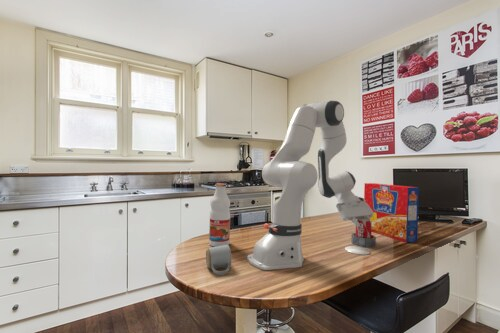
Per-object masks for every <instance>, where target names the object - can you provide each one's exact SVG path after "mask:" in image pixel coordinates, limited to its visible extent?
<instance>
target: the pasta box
mask: <svg viewBox="0 0 500 333" xmlns="http://www.w3.org/2000/svg"><path fill="white" fill-rule="evenodd" d="M363 188H364V190H363V191H364V192H363V193H364V194H363V198H364V199H365V203H367V204H368V205H369V206H370V208H371V209H372V211H373V212H374V215H373V216H372V217H371V218H370V221H371V223H372V233H375V234H377V235H380V236H383V237H385V238H390V239H393V240H396V241H399V242H401V243H402V242H403V243H405V242H406V243H405V244H408V243H407V242H410V243H416V241H417V242H418V232H419V230H418V229H419V228H418V227H419V200H420V199H419V198H420V196H419V195H420V187H416V186H409V185H408V186H407V185H397V184H386V183H385V184H384V183H376V182H375V183H373V182H372V183H371V182H367V183H366V182H365V183H364V187H363Z"/></svg>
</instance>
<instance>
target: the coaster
mask: <svg viewBox="0 0 500 333" xmlns="http://www.w3.org/2000/svg"><path fill="white" fill-rule="evenodd" d="M344 250H345V251H346V252H347V253H351V254H352V255H353V254H354V255H359V256H368V255H370V254H371V250H370V249H369V248H368V249H367V247H361V246H357V245H355V246H354V245H349V246H345V247H344Z"/></svg>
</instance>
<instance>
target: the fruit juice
mask: <svg viewBox="0 0 500 333" xmlns="http://www.w3.org/2000/svg"><path fill="white" fill-rule="evenodd" d="M226 188H227V183H221V182H220V183H215V191H214V194H213V196H212V198H211V199H210V212H209V235H208V237H209V238H208V243H209V246H211V247H217V246H223V245H230V238H231V212H230V207H231V200H230V198H229V196H228V193H227V190H226Z"/></svg>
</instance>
